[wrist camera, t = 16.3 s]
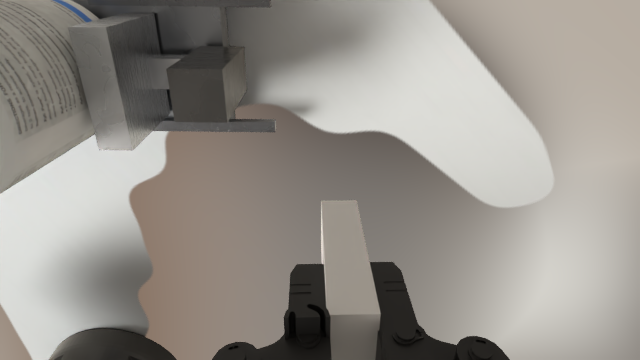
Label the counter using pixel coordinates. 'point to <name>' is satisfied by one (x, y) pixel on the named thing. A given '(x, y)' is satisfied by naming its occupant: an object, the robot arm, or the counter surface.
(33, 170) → the supplement tub
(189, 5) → the vise
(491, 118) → the counter surface
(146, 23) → the sliding jaw
